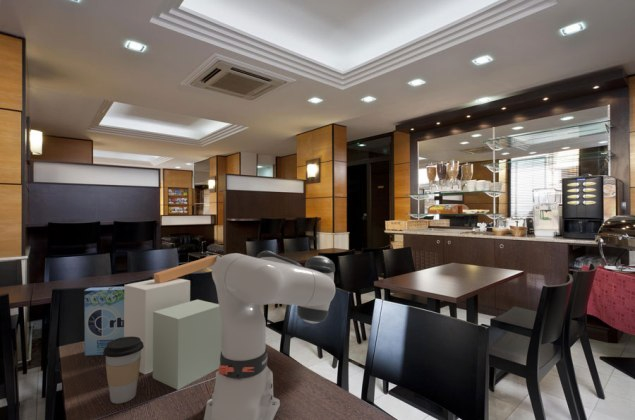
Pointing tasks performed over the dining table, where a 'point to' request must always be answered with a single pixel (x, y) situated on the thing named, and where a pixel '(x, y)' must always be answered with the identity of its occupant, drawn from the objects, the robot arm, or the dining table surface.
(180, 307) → the low stand
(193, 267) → the orange rod
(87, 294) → the gum box
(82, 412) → the dining table surface
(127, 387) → the coffee cup
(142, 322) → the tall stand
